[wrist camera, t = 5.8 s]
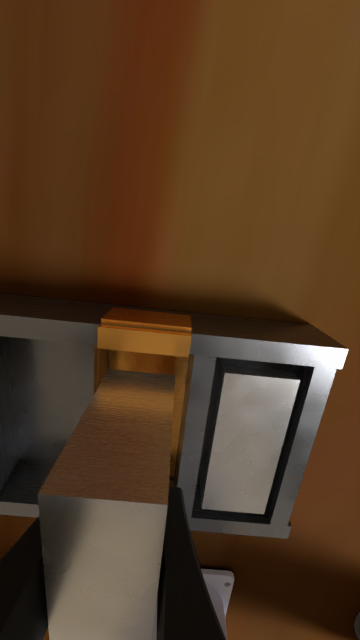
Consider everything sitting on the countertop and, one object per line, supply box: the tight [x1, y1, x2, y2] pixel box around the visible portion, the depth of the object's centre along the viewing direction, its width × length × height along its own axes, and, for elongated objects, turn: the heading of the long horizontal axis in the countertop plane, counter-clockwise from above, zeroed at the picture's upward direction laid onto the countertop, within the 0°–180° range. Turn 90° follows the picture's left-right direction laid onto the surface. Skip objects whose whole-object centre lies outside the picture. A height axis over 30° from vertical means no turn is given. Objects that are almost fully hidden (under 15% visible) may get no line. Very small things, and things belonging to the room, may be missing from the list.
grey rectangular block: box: [38, 369, 175, 640], centre depth 10 cm, size 8×3×6 cm, turn 174°
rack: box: [0, 293, 348, 539], centre depth 15 cm, size 12×18×4 cm
